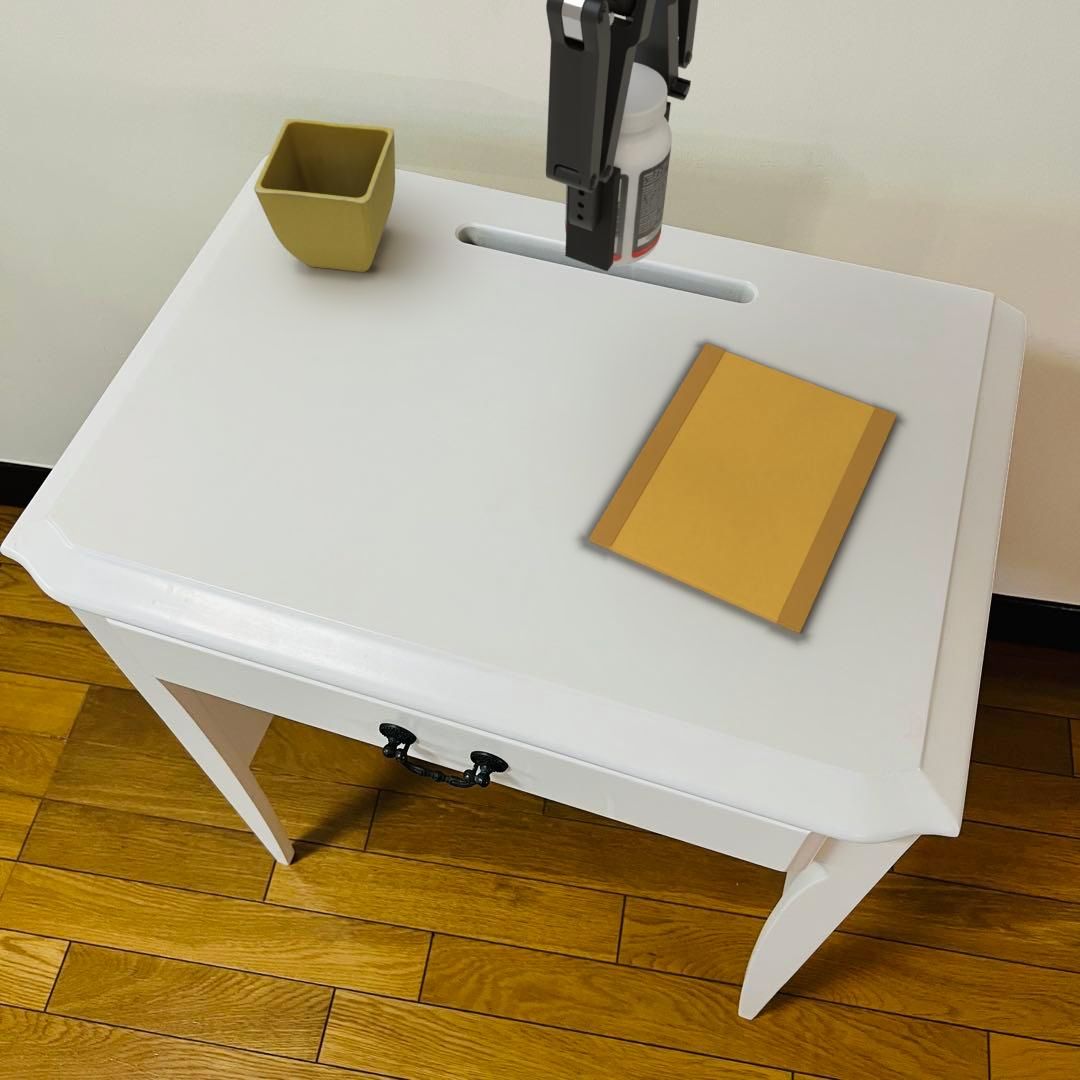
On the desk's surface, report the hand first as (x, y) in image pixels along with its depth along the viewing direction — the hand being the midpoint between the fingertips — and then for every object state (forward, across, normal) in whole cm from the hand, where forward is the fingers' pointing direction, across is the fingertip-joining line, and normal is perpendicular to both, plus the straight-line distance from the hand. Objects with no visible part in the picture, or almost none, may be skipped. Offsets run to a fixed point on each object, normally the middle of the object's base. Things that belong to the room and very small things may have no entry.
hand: (613, 225), depth 62 cm
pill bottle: (+1, 0, 0) cm, 1 cm away
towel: (+17, 0, +12) cm, 21 cm away
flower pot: (+18, -6, -26) cm, 32 cm away
